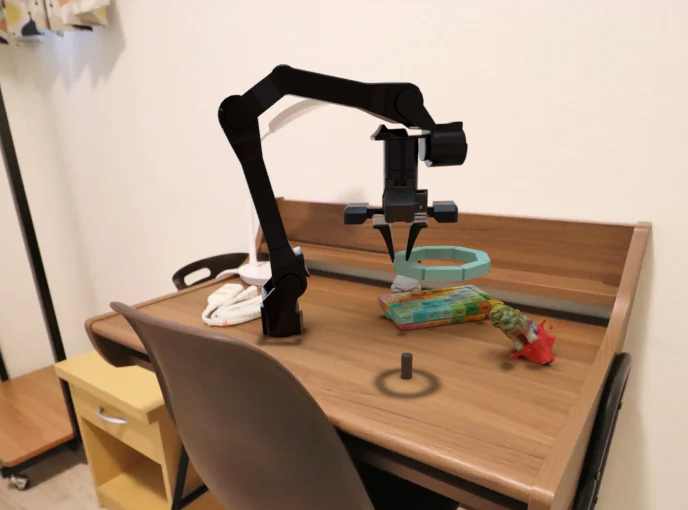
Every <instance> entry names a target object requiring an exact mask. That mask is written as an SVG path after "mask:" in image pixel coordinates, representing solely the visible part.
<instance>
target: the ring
mask: <svg viewBox="0 0 688 510" xmlns="http://www.w3.org/2000/svg"><path fill="white" fill-rule="evenodd" d="M423 260H454V261H455V260H456V261H459V262H463V263H464V262H465V263H464V264H461V265H424V264H420V263H417V262H420V261H423ZM491 265H492V261H491V258H490V257H489V255H488V253H487V252H486V251H483V250H479V249H474V248H468V247H464V246H459V245H457V246H454V245H422V246H416V247H413V249H412V252H411V255H410V258H409V260H408V261H406V249H403V250H399V251H396V252H395V257H394V263H393V273H394V274H395V275H397V274H398V275H402V276H405V277H409V278H412V279H416V280H419V282H422V281H424V282H462V281H465V282H466V281H470V280H473V279H475V278H479V277H482V276H485V275H488V274H489V273H491Z"/></svg>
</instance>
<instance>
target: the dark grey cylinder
mask: <svg viewBox="0 0 688 510" xmlns="http://www.w3.org/2000/svg"><path fill="white" fill-rule="evenodd" d="M413 359H414V357H413V354H412V353H411V352H402V353H401V355H400V379H402V380H407V381H408V380H411V379H412V378H413Z"/></svg>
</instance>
